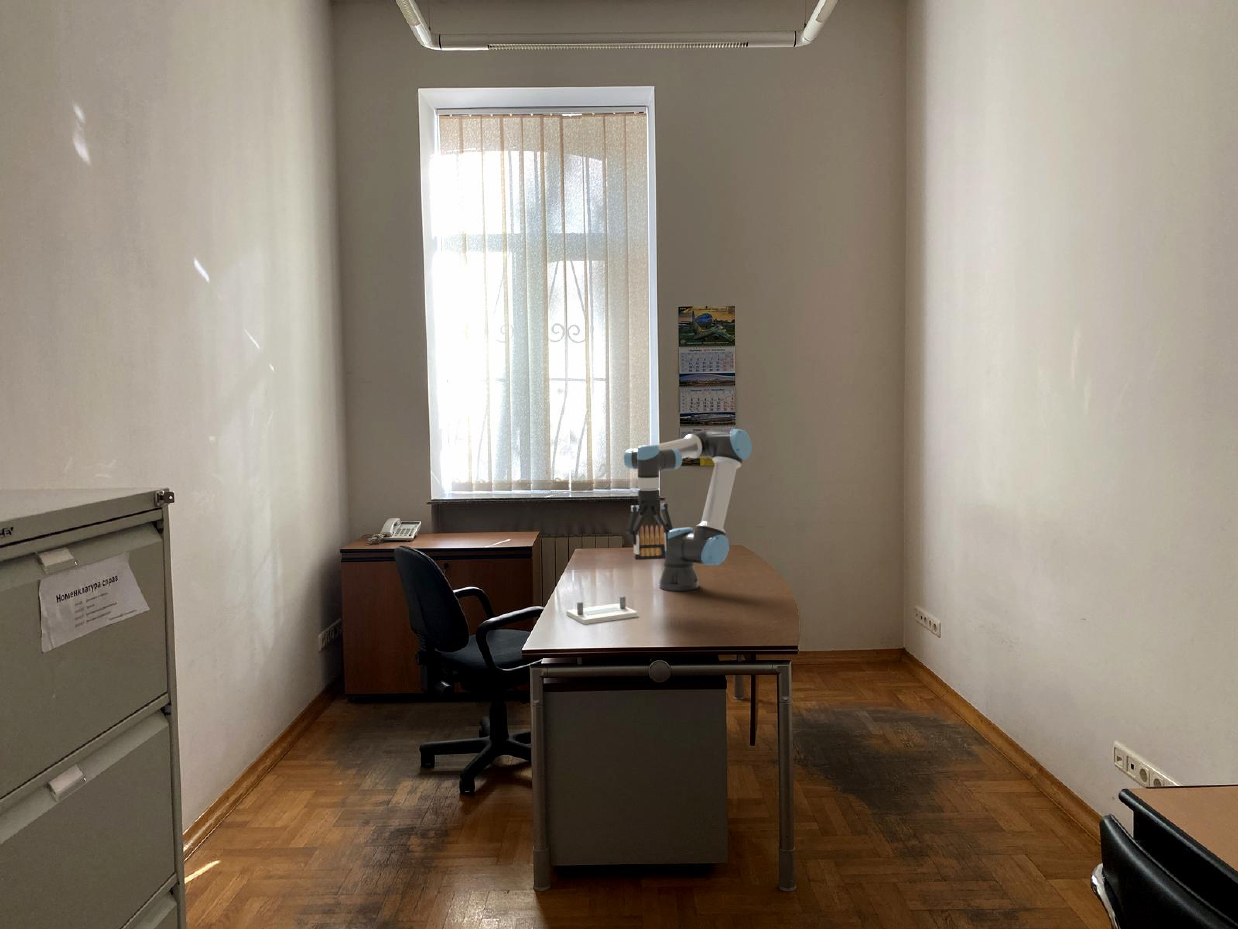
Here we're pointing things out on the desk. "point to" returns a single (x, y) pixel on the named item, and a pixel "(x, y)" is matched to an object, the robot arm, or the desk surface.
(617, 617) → the board
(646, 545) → the ammunition clip
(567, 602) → the desk surface
